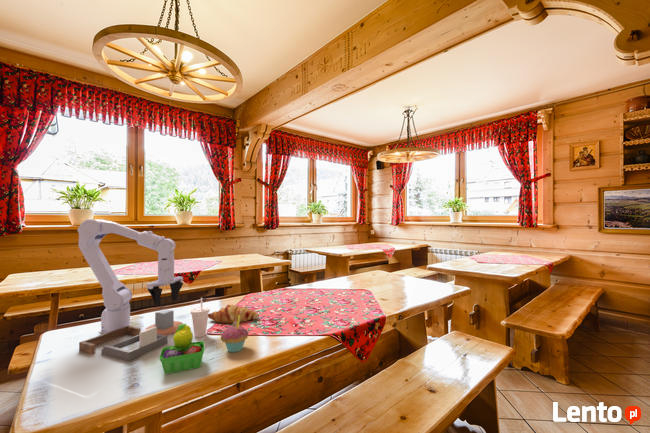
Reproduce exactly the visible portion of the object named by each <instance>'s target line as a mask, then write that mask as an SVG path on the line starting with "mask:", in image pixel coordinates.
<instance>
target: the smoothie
mask: <svg viewBox="0 0 650 433" xmlns="http://www.w3.org/2000/svg"><path fill="white" fill-rule="evenodd" d="M209 313H210V307H208V306H203V297H200V306H198V307H194V308H192V309H191V310H190V315H191V319H192V326H193V334H194V335H193V336H194V337H195V338H202V337H204V336H206V335H207V334H206V333H207V326H208V319H209V318H208V314H209Z"/></svg>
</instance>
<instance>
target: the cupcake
mask: <svg viewBox="0 0 650 433" xmlns="http://www.w3.org/2000/svg"><path fill="white" fill-rule="evenodd" d="M239 321H240V314H239V315H238V321H237V326H236V327H235V326H233V327H231V326H230V327H227V328H226V329H225V330H224V331H223V332H222V333H221V336H220V341H221V342H223V343H224V344H225V346H226V349H227V351H228V352H230V353H237V352H240V351H242V350H243V347H244V345H245V342H246V339H248V336H249V331H248V330H247V328H244V327H243V326H240V322H239Z"/></svg>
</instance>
